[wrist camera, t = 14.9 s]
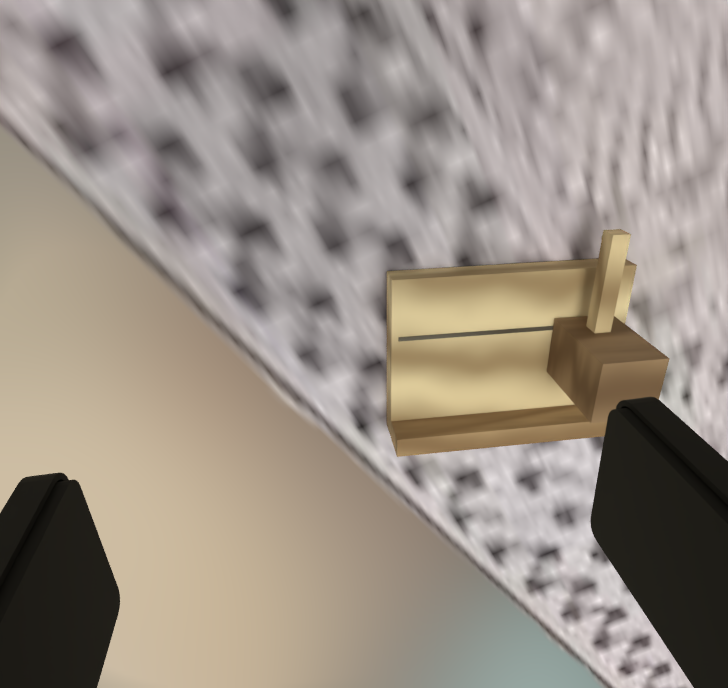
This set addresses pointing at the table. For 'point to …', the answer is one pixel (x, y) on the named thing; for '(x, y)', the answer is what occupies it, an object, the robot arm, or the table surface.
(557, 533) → the table surface
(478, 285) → the board
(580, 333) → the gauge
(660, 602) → the robot arm
